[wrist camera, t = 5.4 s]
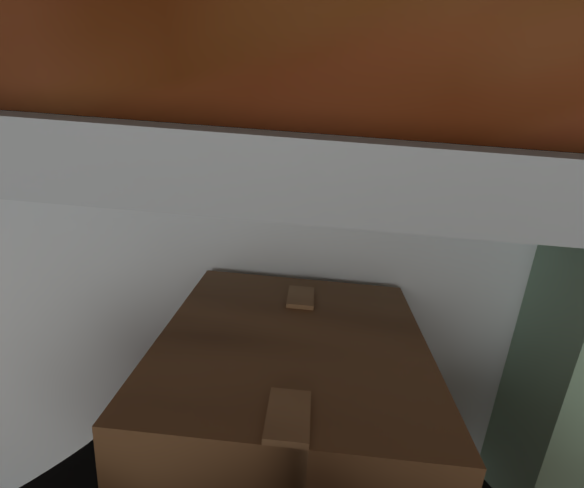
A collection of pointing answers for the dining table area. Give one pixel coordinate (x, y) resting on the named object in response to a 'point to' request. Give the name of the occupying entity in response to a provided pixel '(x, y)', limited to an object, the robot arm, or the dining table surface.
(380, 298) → the cardboard box
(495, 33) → the dining table surface
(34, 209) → the bay
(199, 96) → the dining table surface
